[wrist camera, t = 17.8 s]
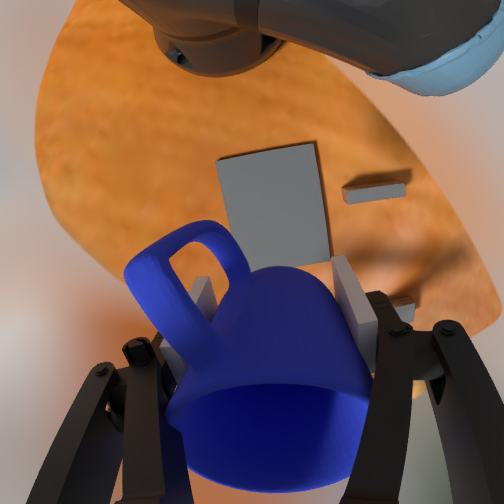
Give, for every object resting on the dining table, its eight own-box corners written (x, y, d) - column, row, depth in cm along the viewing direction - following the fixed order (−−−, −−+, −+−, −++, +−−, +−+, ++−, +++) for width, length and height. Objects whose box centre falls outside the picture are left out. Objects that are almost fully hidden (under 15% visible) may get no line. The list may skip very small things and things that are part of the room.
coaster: (216, 161, 33) (215, 161, 33) (312, 143, 32) (313, 143, 31) (241, 273, 38) (241, 275, 37) (329, 259, 36) (330, 260, 36)
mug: (272, 157, 15) (266, 182, 6) (363, 330, 18) (407, 459, 9) (149, 233, 17) (41, 327, 8) (254, 376, 20) (239, 502, 11)
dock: (329, 189, 33) (355, 215, 22) (407, 178, 32) (462, 200, 20) (342, 327, 40) (361, 392, 28) (409, 313, 38) (443, 370, 27)
